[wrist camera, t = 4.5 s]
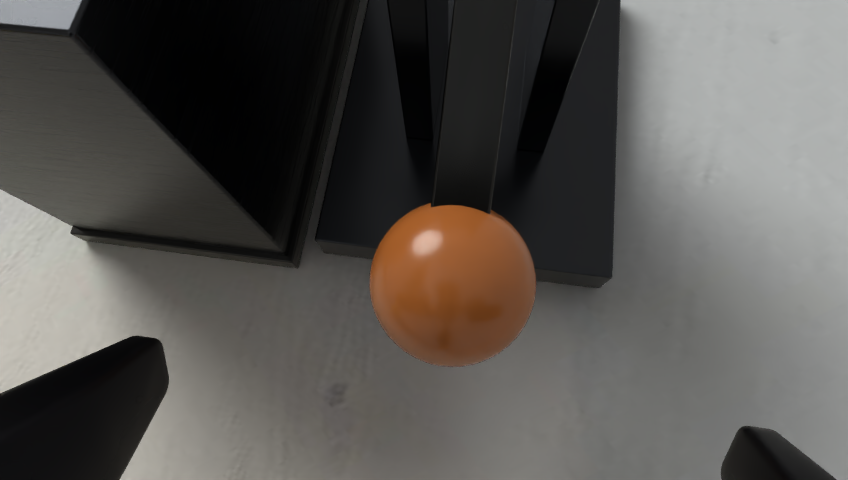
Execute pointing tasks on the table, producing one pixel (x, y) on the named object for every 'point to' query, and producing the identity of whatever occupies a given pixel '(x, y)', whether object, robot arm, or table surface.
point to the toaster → (172, 118)
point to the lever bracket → (519, 141)
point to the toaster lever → (460, 216)
